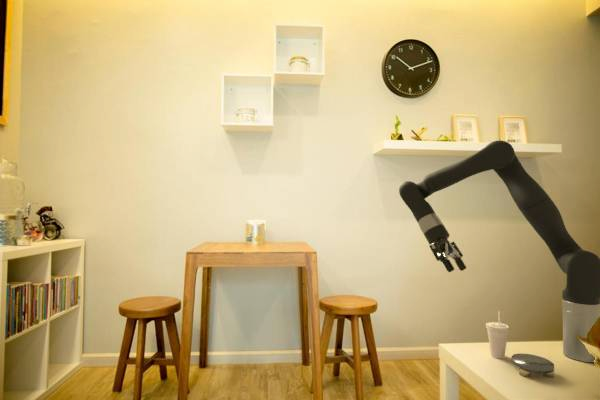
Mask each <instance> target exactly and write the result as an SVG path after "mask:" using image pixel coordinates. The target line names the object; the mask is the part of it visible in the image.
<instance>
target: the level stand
mask: <svg viewBox="0 0 600 400" xmlns="http://www.w3.org/2000/svg"><path fill="white" fill-rule="evenodd" d="M511 363H512V364H513V365H514V366H515V367H517V368H519V369H518V371H519V373H518V374H519V375H520V376H521V377H524V378H531V373H535V374H542V376H543V377H545V378H549V379H554V378H555V364H554V362H553V361H551V360H549V359H547V358H545V357H542V356H538V355H536V354H531V353H515V354H513V355H511Z"/></svg>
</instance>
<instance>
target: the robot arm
mask: <svg viewBox="0 0 600 400" xmlns="http://www.w3.org/2000/svg"><path fill="white" fill-rule="evenodd" d="M492 170H493V171H494V172H495V173H496V175H497V176H498V177H499V178H500V179H501V180H502V182H503V183H504V185H505V186H506V188H507V190H508V192H509V194H510V195H511V198H512V200H513V201H514V203H515V205H516V206H517V208H518V210H519V211H520V213H521V215H523V216H524V219H526V221H527V222H528V223H529V225H530V226H531V227H532V228H533V230H534V231H535V232H536V233H537V235H539V237H540V238H541V239H542V240H543V242H544V243H545V245H546V246H547V247H548V250H549V251H550V252H551V254H552V256H553V258H554V260H555V261H556V263H557V265H558V267H559V269H560V270H561V271H562V272H563V273H564V274H565V275H566V286H565V288H564V289H563V290H562V291H561V293H562V295H561V298H562V305H561V306H562V354H563V355H564V356H565V357H568V358H569V359H573V360H576V361H578V362H583V363H591V362H592V363H593V361H594V360H595V357H594V356H593V355H592V354H590V353H589V352H588V350H587V349H586V347H585V345H584V344H583V343H582V342H581V341H580V340H579V339H578V338H577V335H579V336H581V337H582V338H585V339H586V338H587V334H588V332H589V331H590V329H591V328H592V326H593V325H594V324H595V322H596V321H597V319H598V318H599V317H600V257H599V256H598V255H597V254H596V253H593V252H591V251H588V250H584V249H583V248H582V247H581V246H580V245H579V244H578V243H577V242H576V241H575V240H574V238H573V237H572V235H570V233H569V231H568V230H567V228H566V225H565V221H564V220H563V216H562V214H561V212H560V210H559V209H558V206H557V205H556V204H555V202H554V201H553V200H552V198H551V197H550V195H549V194H548V193H547V192H546V191H545V190H544V188H542V186H541V185H540V184H539V183H538V181H536V180H535V179H534V178H533V177H532V176H531V175H530V174H529V173H528V172H527V171H526V170H525V168H524V167H523V165H522V163H521V162H520V160H519V159H518V156H517V155H516V153H515V148H514V147H513V145H512V144H510V143H509V142H508V141H505V140H494V141H491V142H490V143H488V144H487V145H486V146H484V147H483V148H482V149H480V150H478V151H477V152H475V153H474V154H472V155H470V156H468V157H466V158H464V159H462V160H460V161H459V160H458V161H457V162H454V163H452V164H450V165H447V166H445V167H442V168H439V169H438V170H435V171H433V172H431V173H428V174H426V175H425V176H424V178H423V180H421V181H420V182H418V183H415V182H413V181H411V180H410V181H409V180H407V181H404V182H402V183H401V184H400V186H399V189H398V193H399V196H400V198H401V200H402V201H403V203H404V204H405V205H406V206H407V208H408V209H410V211H411V213H412V215H413V217H414V219H415V220H416V222H417V224H418V226H419V229H420V231H421V232H422V234H423V236H424V238H425V239H426V241H427V242H428V246H429V248H430V250H431V252H432V254H433V256H434V257H435V260H436V261H440V262H441V263H442V265H444V267H445V269H446V271H447V272H448V273H451V272H454V271H455V268H454V265H453V264H452V262H451V260H450V259H452V260H453V261H454V263H455V264H456V266H457V267H458V269H459V271H464V270H466V269H467V266H466V264H465V263H464V261H463V259H462V257H464V255H463V253H462V251H461V250H460V248H459V247H458V245H457V244H456V243H455V242H454V241H451V242H450V241H449V240H448V239H449V238H450V233H449V231H448V229H447V228H446V227H445V225H444V224H443V222H442V220H441V219H440V217H439V216H438V215H437V214H436V212H435V210H434V209H433V207H432V204H430V203H429V202H428V201H427V200H426V199H427V198H428V197H429V196H431V195H433V194H434V193H436V192H439V191H441V190H444V189H446V188H449V187H451V186H453V185H455V184H457V183H459V182H461V181H463V180H465V179H468V178H470V177H472V176H475V175H478V174H481V173H484V172H486V171H492ZM449 258H450V259H449Z"/></svg>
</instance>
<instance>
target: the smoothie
mask: <svg viewBox="0 0 600 400" xmlns="http://www.w3.org/2000/svg"><path fill="white" fill-rule="evenodd" d="M497 315H498V317H497V321H489V322H486V323H485V328H486V329H487V330H486V331H487V337H488V344H489V351H490V357H492V358H495V359H497V360H498V359H500V360H502V359H503V358H504V359H505V357H506V356H505V355H506V348H507V342H508V341H507V340H508V334H509V333H508V332H509V331H510V326H508V324H505V323H503V322H501V311H500V310H498V311H497ZM504 359H503V360H504Z"/></svg>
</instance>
